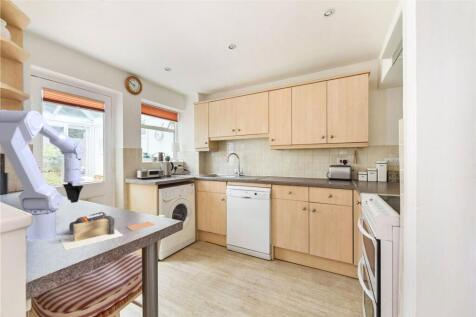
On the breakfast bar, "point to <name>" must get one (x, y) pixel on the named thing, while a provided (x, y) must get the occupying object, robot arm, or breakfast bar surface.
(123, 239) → the breakfast bar surface
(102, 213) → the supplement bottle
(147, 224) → the tile
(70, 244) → the rest mat
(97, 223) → the wooden tool caddy
